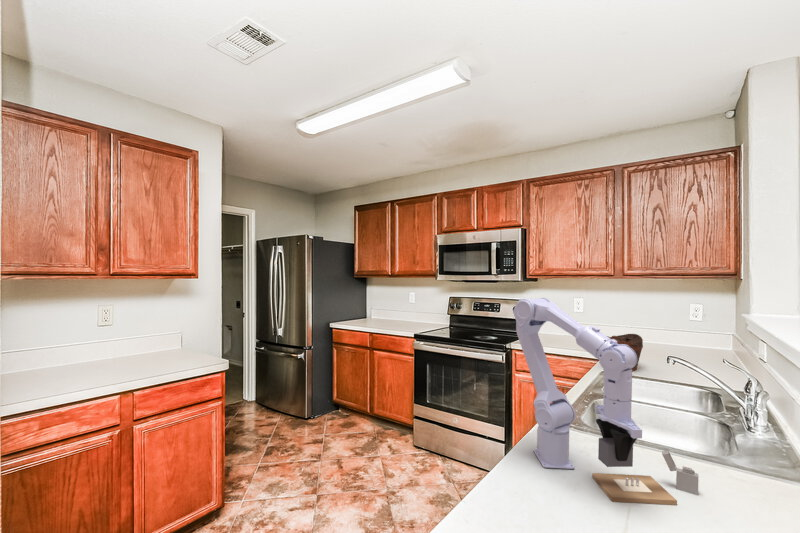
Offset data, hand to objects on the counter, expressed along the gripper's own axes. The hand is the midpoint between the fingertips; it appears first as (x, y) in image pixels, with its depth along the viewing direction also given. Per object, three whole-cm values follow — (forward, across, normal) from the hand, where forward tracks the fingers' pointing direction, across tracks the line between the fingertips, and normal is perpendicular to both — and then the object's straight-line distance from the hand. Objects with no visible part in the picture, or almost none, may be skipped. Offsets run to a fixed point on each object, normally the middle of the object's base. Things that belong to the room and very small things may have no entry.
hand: (615, 455), depth 90 cm
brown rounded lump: (+8, -106, +72) cm, 129 cm away
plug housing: (+2, 0, 0) cm, 2 cm away
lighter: (+9, -1, +17) cm, 19 cm away
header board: (+8, 0, +4) cm, 10 cm away
